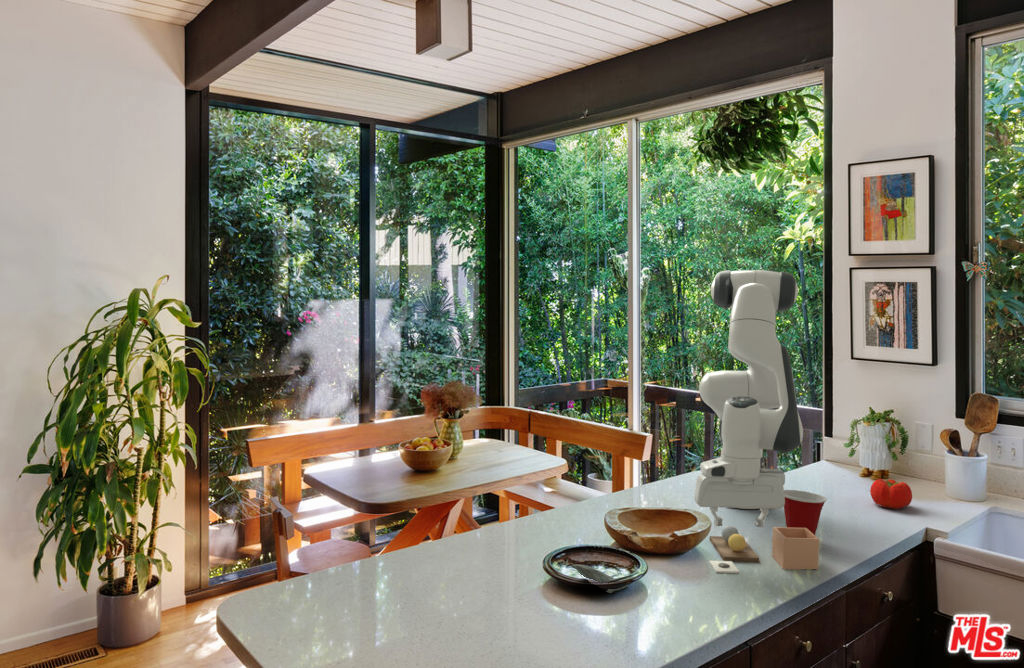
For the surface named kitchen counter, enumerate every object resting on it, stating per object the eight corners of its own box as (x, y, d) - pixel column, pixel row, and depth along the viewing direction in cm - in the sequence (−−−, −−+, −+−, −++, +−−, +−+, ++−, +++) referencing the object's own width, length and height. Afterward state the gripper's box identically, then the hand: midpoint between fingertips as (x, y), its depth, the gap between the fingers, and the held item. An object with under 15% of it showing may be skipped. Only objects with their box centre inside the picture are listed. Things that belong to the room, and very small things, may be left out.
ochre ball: (726, 547, 170) (726, 531, 169) (742, 548, 169) (743, 531, 169) (730, 553, 166) (730, 537, 165) (747, 554, 166) (748, 537, 165)
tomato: (918, 507, 207) (919, 482, 207) (898, 514, 201) (899, 488, 200) (881, 498, 216) (883, 474, 215) (862, 504, 210) (863, 479, 209)
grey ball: (719, 539, 176) (720, 523, 175) (736, 539, 175) (736, 523, 175) (723, 544, 172) (724, 528, 171) (740, 545, 171) (741, 528, 171)
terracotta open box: (771, 556, 167) (772, 527, 167) (805, 557, 167) (806, 527, 166) (783, 569, 159) (784, 538, 159) (818, 569, 159) (819, 539, 159)
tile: (709, 562, 163) (709, 559, 163) (731, 563, 163) (731, 560, 163) (715, 572, 157) (716, 570, 157) (738, 573, 157) (738, 570, 157)
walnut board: (709, 540, 178) (709, 536, 178) (741, 540, 177) (742, 536, 177) (723, 561, 164) (723, 556, 164) (759, 562, 163) (759, 557, 163)
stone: (591, 576, 157) (560, 573, 151) (597, 559, 158) (566, 555, 151) (627, 597, 149) (596, 595, 143) (633, 578, 149) (602, 576, 143)
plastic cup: (835, 545, 175) (837, 497, 174) (802, 551, 171) (804, 502, 170) (800, 531, 185) (802, 485, 184) (768, 536, 181) (770, 490, 180)
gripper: (780, 465, 169) (778, 522, 169) (693, 463, 170) (692, 520, 170) (790, 471, 163) (788, 531, 163) (699, 469, 163) (698, 529, 164)
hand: (738, 525), depth 167 cm, fingers open, 8 cm apart
